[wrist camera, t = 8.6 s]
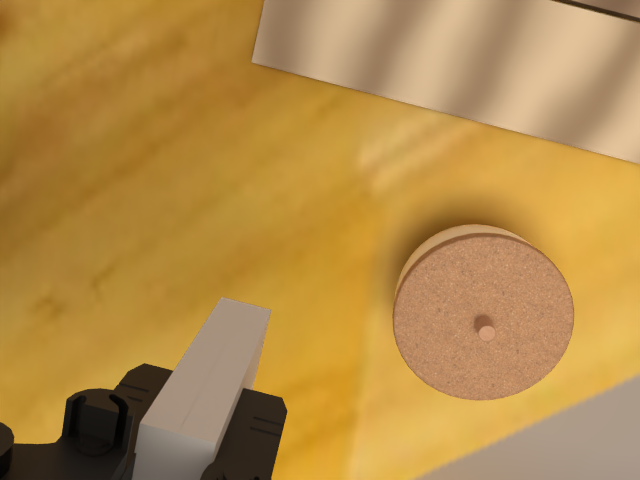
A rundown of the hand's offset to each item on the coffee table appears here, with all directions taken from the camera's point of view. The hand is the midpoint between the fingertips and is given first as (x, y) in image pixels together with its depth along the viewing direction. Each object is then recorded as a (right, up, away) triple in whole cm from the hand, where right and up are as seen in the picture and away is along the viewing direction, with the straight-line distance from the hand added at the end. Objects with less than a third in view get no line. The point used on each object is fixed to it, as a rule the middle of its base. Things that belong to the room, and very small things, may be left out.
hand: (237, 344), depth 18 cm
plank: (+13, +15, +22) cm, 29 cm away
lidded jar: (+13, 0, +26) cm, 29 cm away
